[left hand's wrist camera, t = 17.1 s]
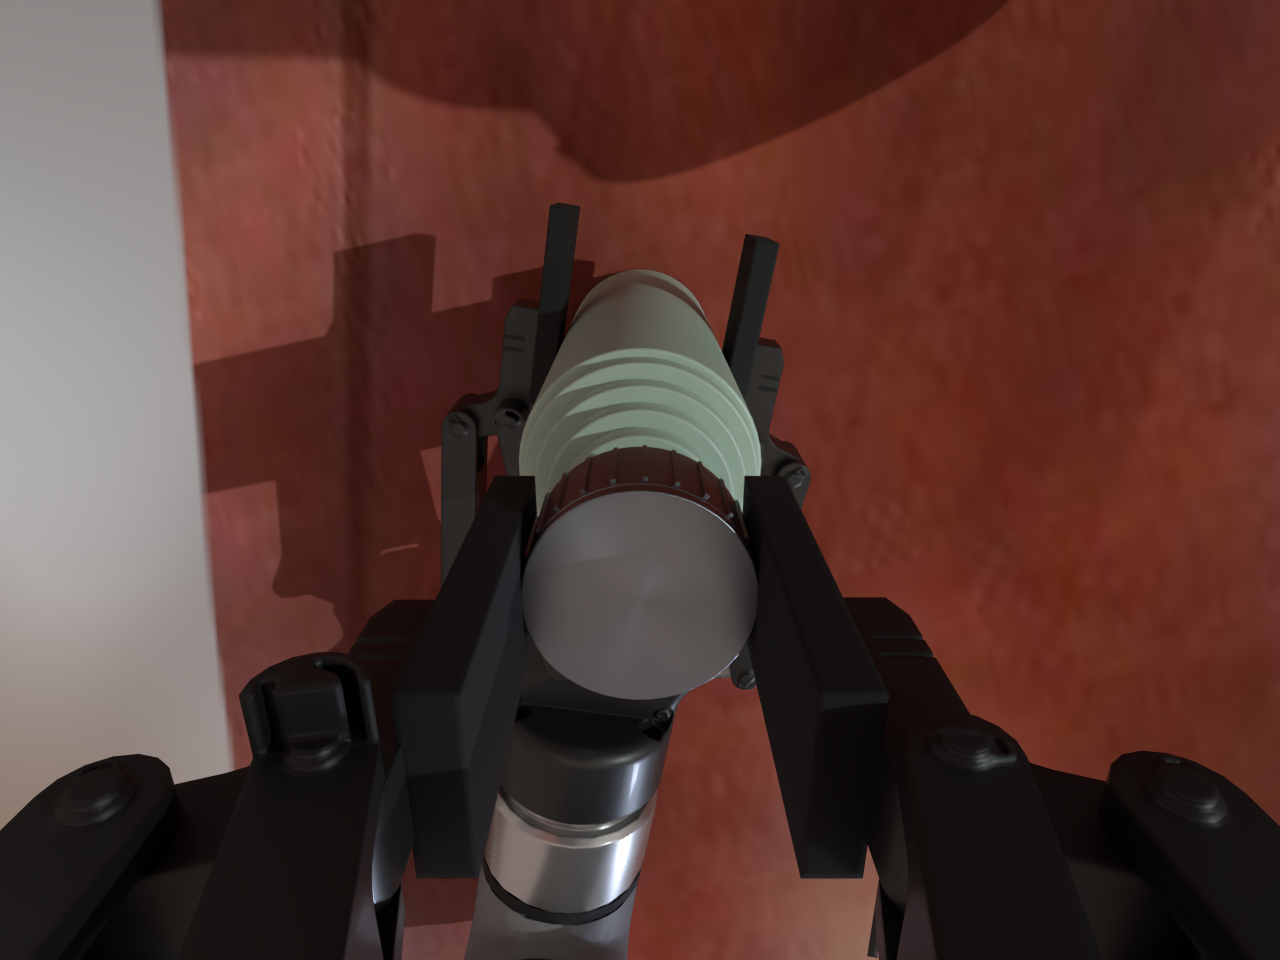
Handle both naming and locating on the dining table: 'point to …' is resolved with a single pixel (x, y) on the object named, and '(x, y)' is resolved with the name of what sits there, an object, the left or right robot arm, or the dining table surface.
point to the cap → (639, 575)
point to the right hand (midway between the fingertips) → (664, 223)
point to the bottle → (639, 387)
